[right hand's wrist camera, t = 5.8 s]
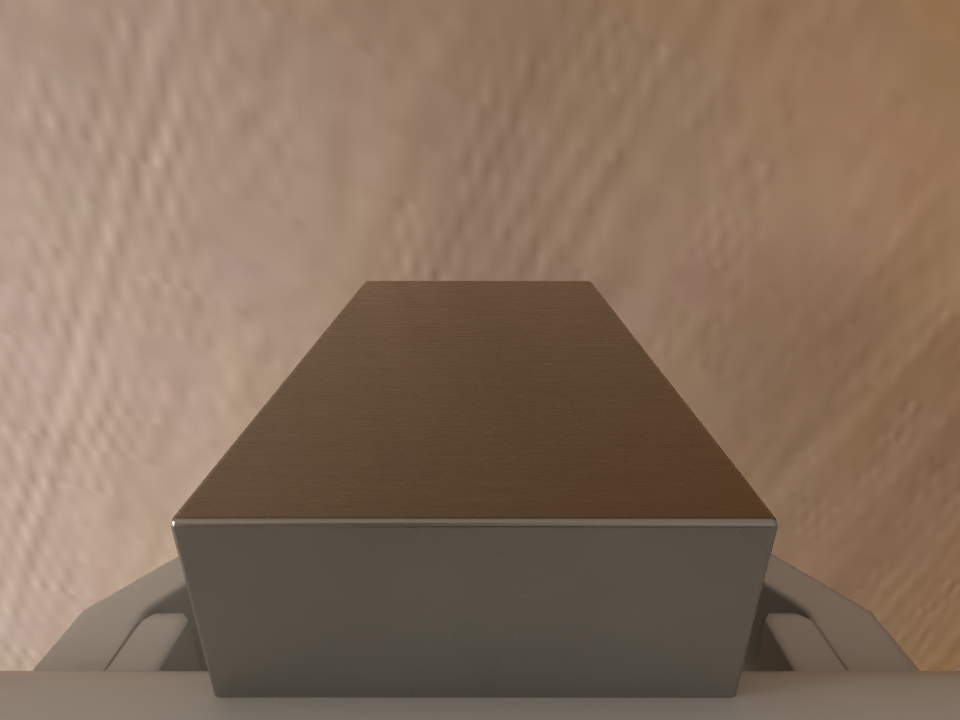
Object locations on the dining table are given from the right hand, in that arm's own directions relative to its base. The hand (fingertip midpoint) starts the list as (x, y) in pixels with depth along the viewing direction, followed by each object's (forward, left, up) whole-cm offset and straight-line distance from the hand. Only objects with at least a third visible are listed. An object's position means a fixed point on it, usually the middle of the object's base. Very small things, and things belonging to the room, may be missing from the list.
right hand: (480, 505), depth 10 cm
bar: (+8, 0, -3) cm, 8 cm away
